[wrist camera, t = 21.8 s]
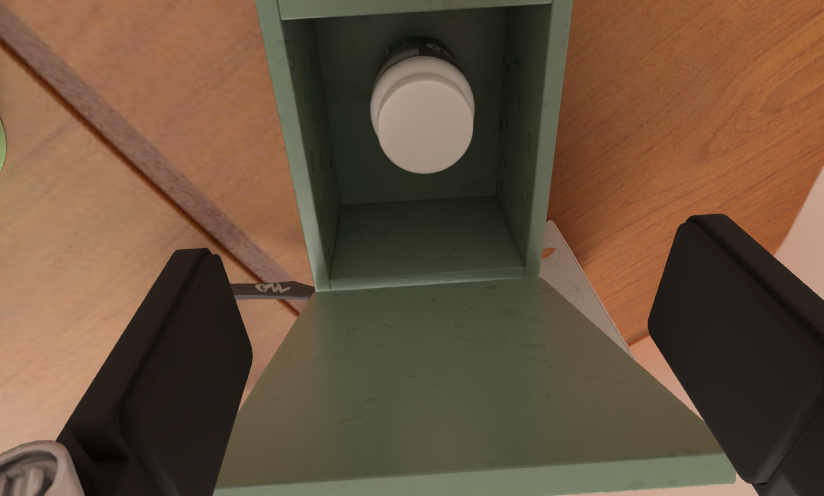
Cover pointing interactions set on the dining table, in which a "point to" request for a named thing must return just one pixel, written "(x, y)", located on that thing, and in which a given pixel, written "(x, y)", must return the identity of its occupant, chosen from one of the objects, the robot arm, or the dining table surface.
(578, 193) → the dining table surface
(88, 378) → the dining table surface
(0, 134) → the mug
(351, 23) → the green storage bin
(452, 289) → the bin lid
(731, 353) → the robot arm
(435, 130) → the pill bottle
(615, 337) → the small box
